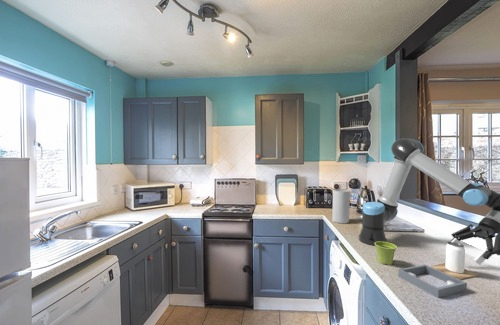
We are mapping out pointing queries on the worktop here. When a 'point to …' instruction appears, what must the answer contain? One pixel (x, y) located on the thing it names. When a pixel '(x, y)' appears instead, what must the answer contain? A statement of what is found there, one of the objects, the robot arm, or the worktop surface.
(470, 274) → the pad
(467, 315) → the worktop surface
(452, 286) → the tray
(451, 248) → the can
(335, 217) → the cylinder vase
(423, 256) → the worktop surface
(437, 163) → the robot arm
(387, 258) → the plant pot
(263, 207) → the worktop surface
